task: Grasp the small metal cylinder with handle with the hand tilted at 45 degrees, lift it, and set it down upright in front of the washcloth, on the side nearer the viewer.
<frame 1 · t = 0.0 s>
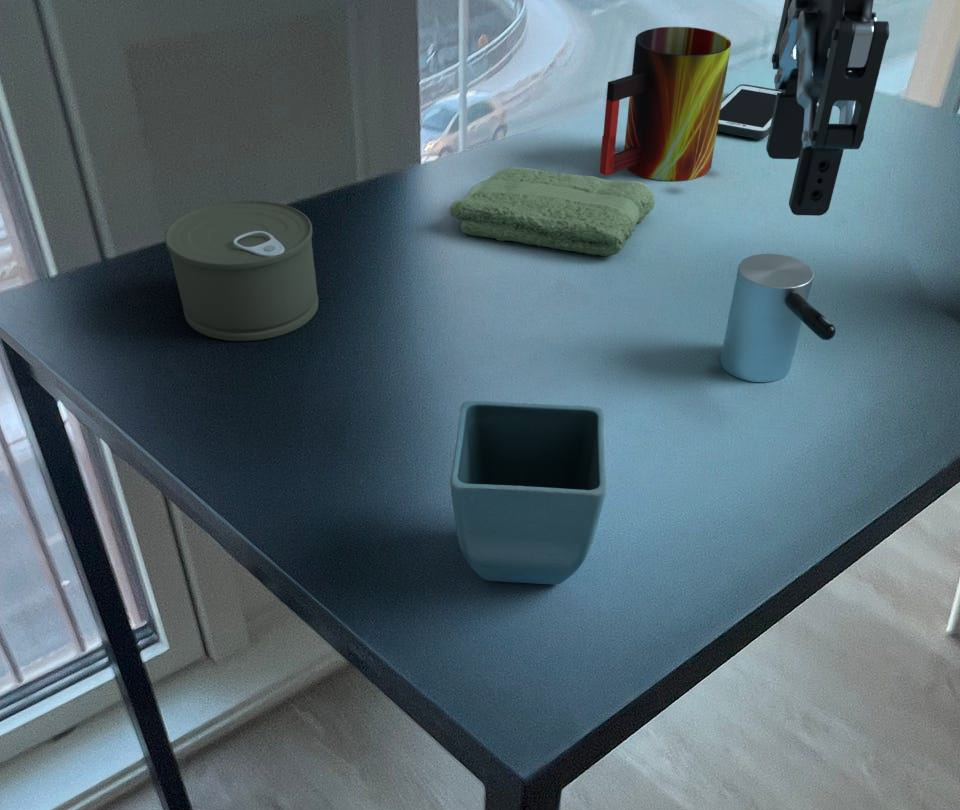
hand: (794, 183, 62), 18 cm above the table, tool pointing down, fingers open, 8 cm apart
mug: (660, 172, 109), on the table
washcloth: (552, 225, 100), on the table
metal cylinder with handle: (754, 364, 82), on the table
cell phone: (750, 117, 121), on the table
can: (252, 309, 88), on the table
flower pot: (524, 560, 66), on the table
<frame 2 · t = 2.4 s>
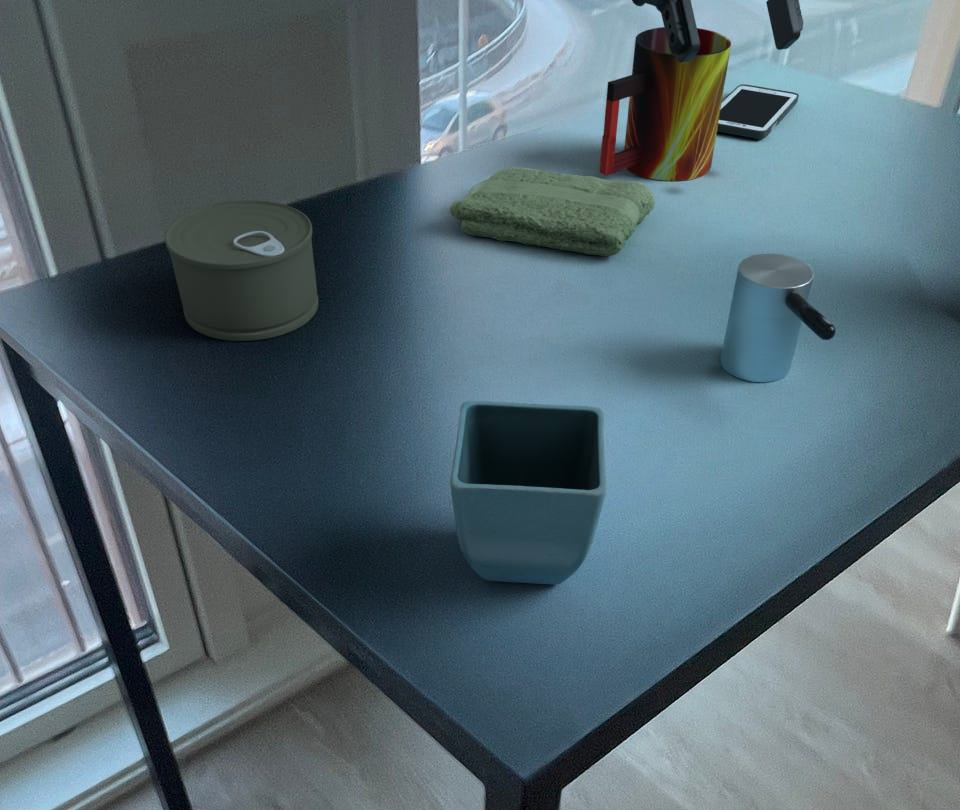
hand: (740, 50, 74), 20 cm above the table, tool tilted 40°, fingers open, 8 cm apart
nothing on the table moved.
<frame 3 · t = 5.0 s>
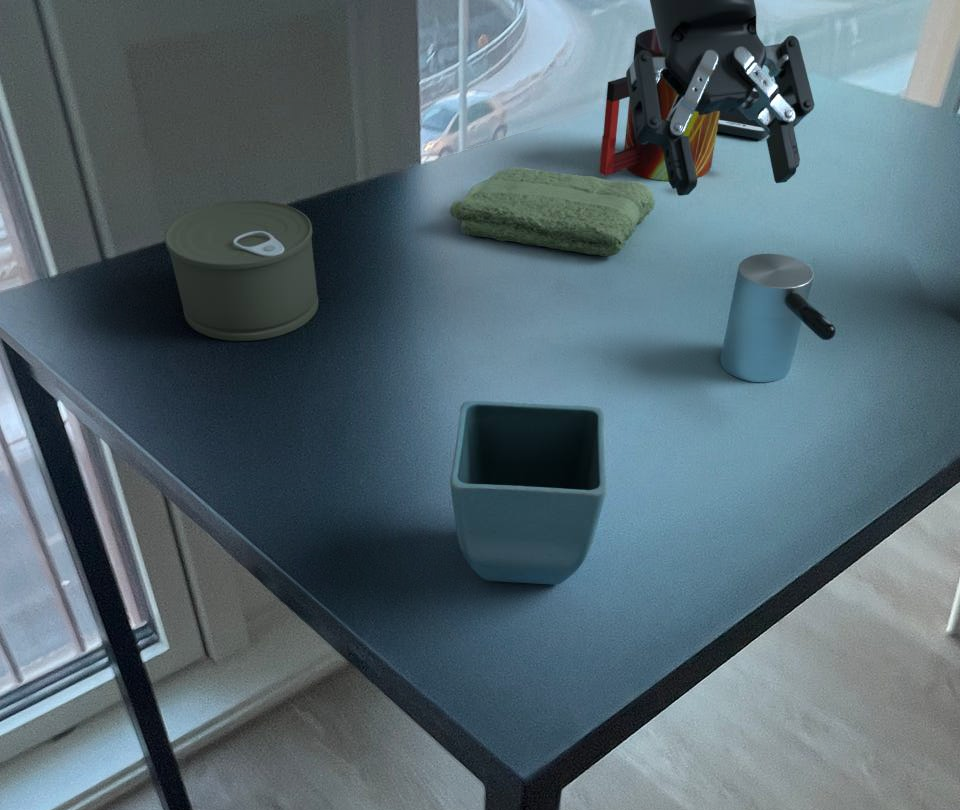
hand: (738, 184, 79), 11 cm above the table, tool tilted 45°, fingers open, 8 cm apart
nothing on the table moved.
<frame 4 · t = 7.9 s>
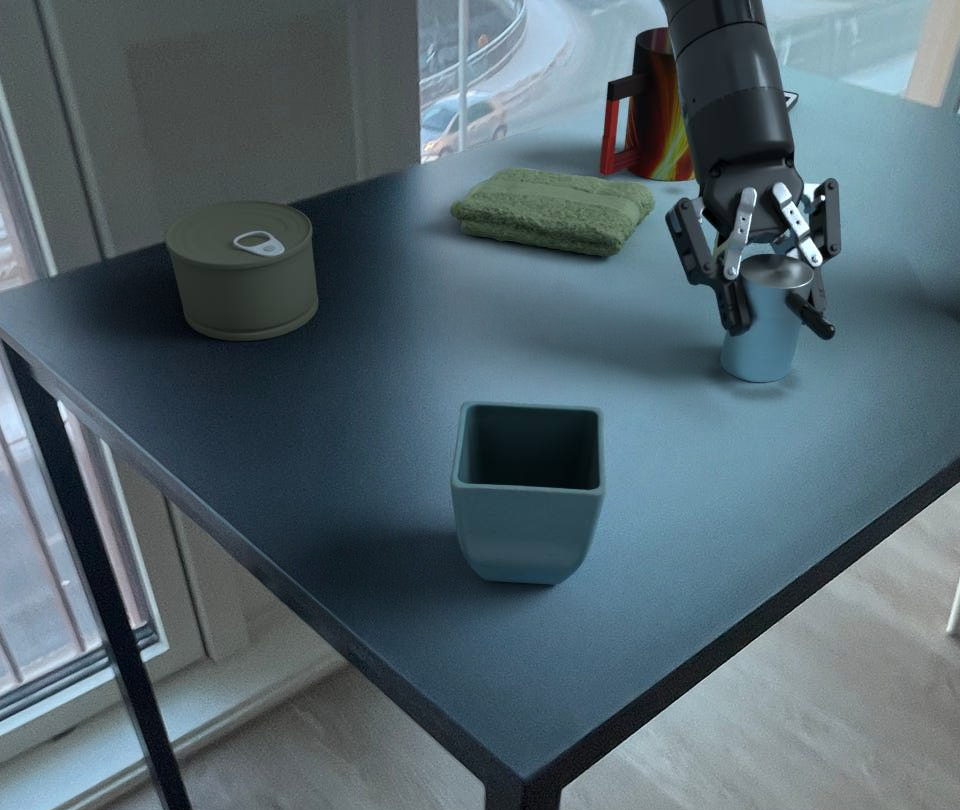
hand: (777, 326, 78), 4 cm above the table, tool tilted 45°, fingers closed on metal cylinder with handle, 5 cm apart
metal cylinder with handle: (754, 364, 82), on the table, touching gripper
everything else where it was.
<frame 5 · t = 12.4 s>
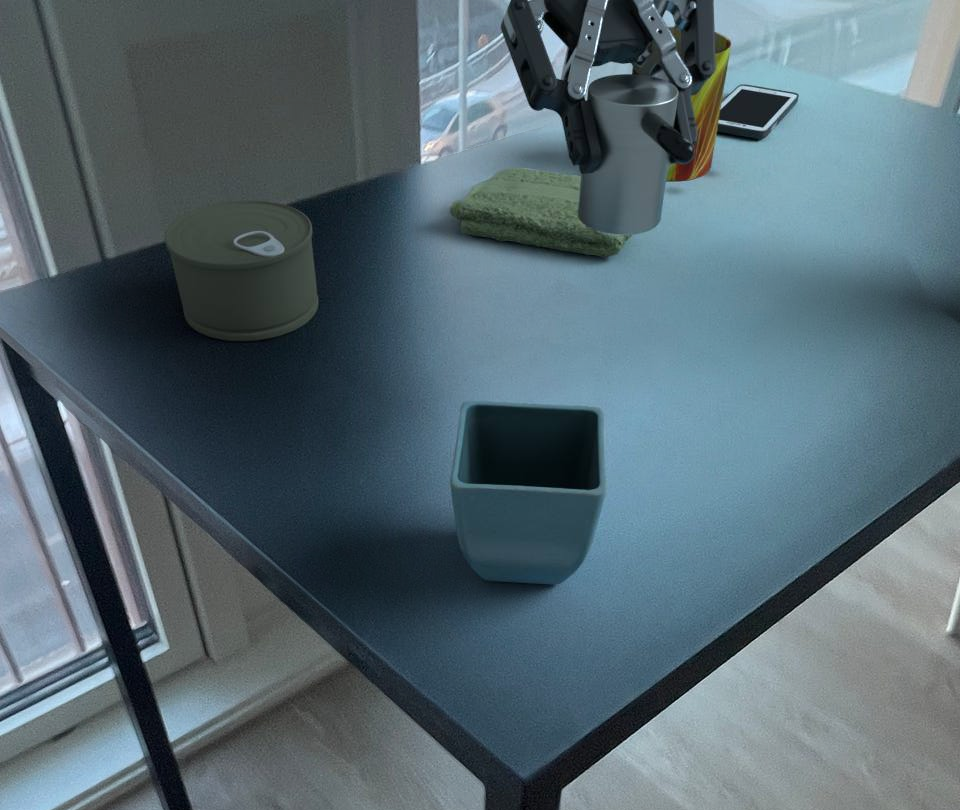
hand: (637, 162, 64), 18 cm above the table, tool tilted 45°, fingers closed on metal cylinder with handle, 5 cm apart
metal cylinder with handle: (619, 216, 68), point 14 cm above the table, touching gripper
everything else where it was.
when the fingers open (4 cm above the table, at t = 17.3 s): metal cylinder with handle stays where it is, on the table.
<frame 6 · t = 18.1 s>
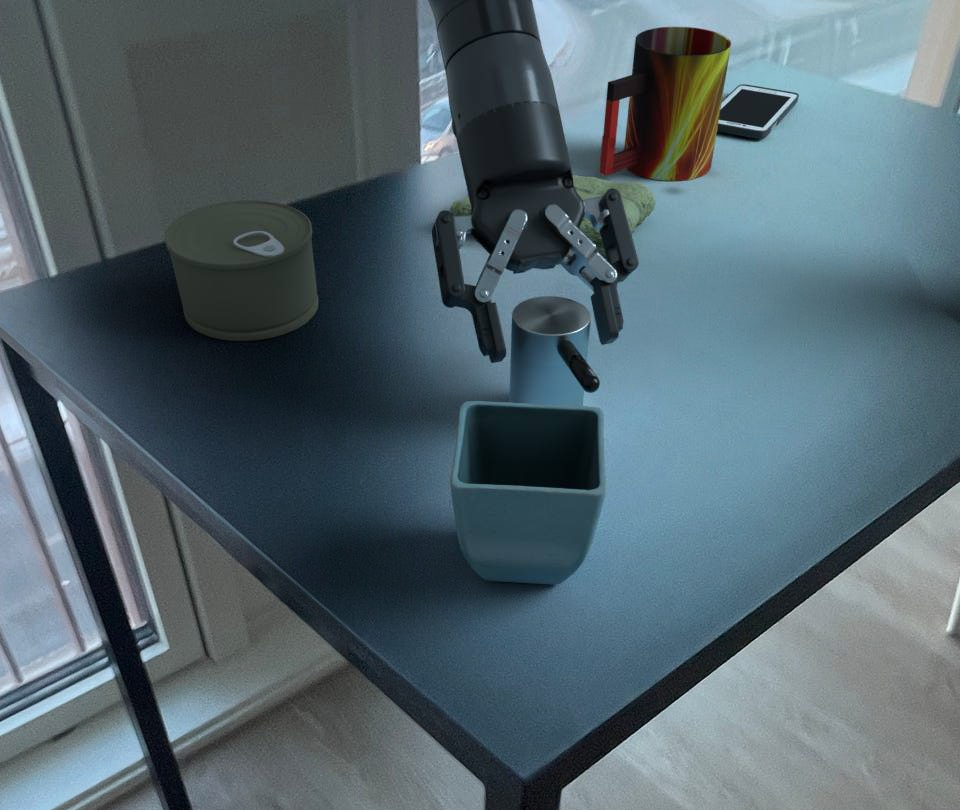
hand: (555, 350, 72), 6 cm above the table, tool tilted 45°, fingers open, 8 cm apart
metal cylinder with handle: (545, 411, 77), on the table
everything else where it was.
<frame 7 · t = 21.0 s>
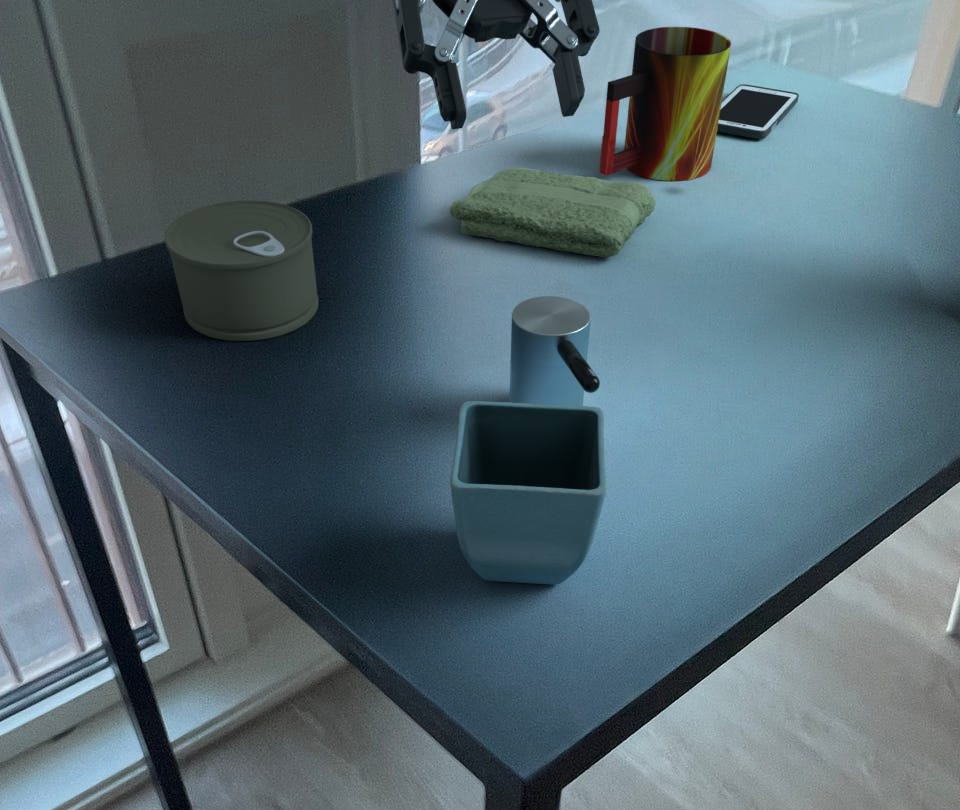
hand: (516, 117, 72), 17 cm above the table, tool tilted 45°, fingers open, 8 cm apart
nothing on the table moved.
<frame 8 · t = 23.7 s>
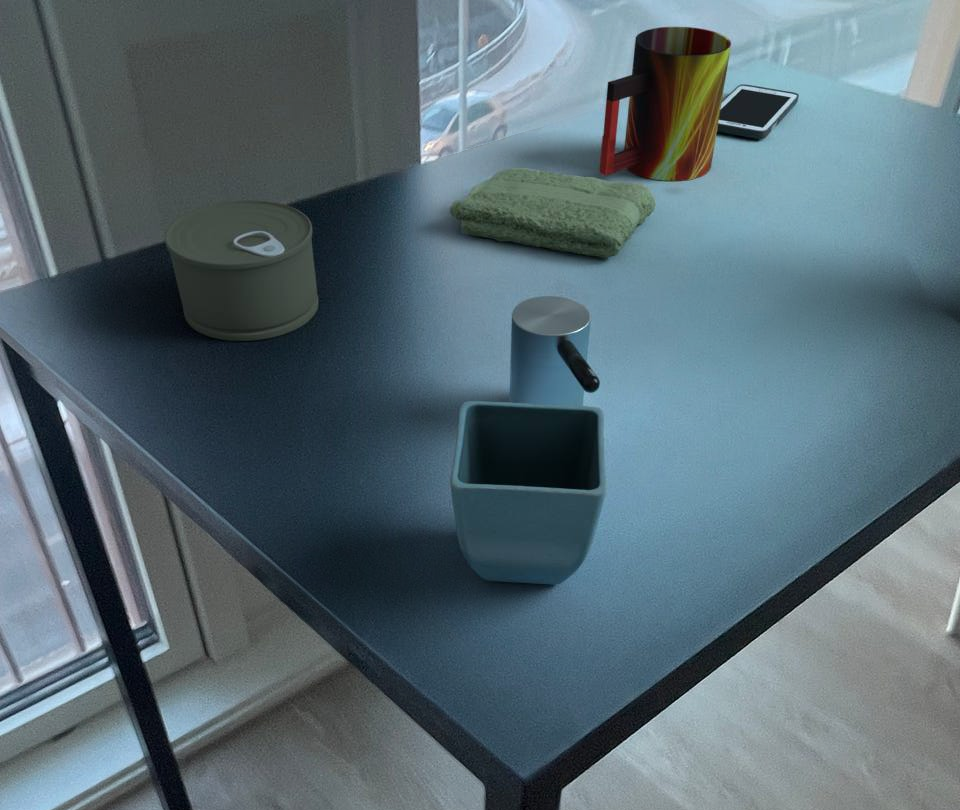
nothing on the table moved.
at the end: metal cylinder with handle tilted 0°; the gripper is holding nothing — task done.
